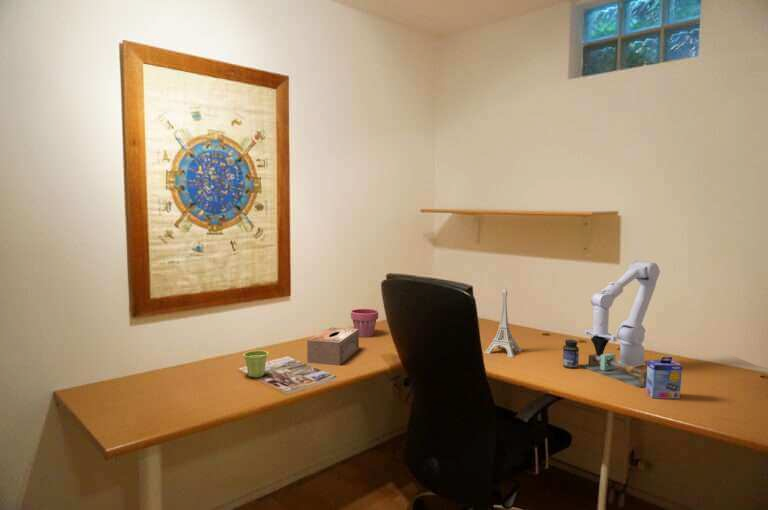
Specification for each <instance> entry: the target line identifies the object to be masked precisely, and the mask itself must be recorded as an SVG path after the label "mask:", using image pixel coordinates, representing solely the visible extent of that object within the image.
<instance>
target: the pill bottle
mask: <svg viewBox="0 0 768 510" xmlns="http://www.w3.org/2000/svg"><path fill="white" fill-rule="evenodd" d="M564 343H565V345H564V346H563V347H562V348H563V349H562V350H563V351H562V366H563V367H564V368H567V369H571V370H572V369H575V370H576V369H578V368H579V357H580V356H579V354H580V351H579V349H580V348H579V347H578V341H577V340H575V339H566V340H565V341H564Z"/></svg>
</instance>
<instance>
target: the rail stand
mask: <svg viewBox="0 0 768 510" xmlns="http://www.w3.org/2000/svg"><path fill="white" fill-rule="evenodd" d="M600 364H601V355H600V356H599V355H596V353H593V354H592V353H591V354H588V362H587V364H582V365H580V367H581V368H583V369H586V370H590V371H592V372H594V373H597V374H600V375H603V376H606V377H608V378H611V379H614V380H617V381H620V382H623V383H625V384H629V385H631V386H634V387H637V388H640V389H641V388H646V381H647V369H644V370H643V369H641V368H638V367H633V366H630V365H629V366H628V365H625V364H621V363H618V362H616V360H615V361H612V360H609V359H607V365H611V366H614V367H615V369H611V370H605V371H604V370H601V369H600Z"/></svg>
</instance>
